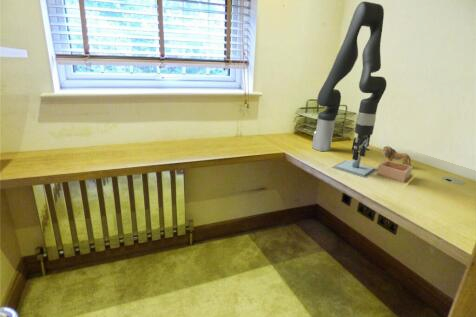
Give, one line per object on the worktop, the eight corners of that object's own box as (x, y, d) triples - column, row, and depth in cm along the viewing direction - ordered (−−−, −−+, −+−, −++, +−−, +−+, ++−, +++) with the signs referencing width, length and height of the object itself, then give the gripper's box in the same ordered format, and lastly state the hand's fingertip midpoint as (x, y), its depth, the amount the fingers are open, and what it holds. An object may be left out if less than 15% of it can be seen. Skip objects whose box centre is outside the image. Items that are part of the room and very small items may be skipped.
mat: (331, 168, 133) (331, 167, 133) (345, 161, 144) (345, 160, 144) (365, 179, 123) (366, 178, 123) (378, 170, 134) (378, 169, 134)
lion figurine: (379, 163, 144) (383, 146, 141) (379, 160, 148) (383, 144, 145) (412, 169, 138) (417, 152, 135) (411, 166, 143) (416, 149, 140)
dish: (376, 175, 128) (378, 165, 126) (384, 169, 136) (386, 159, 134) (403, 183, 121) (406, 172, 119) (409, 176, 129) (412, 166, 127)
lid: (335, 167, 133) (338, 155, 131) (347, 161, 142) (349, 150, 140) (364, 176, 125) (366, 163, 123) (374, 169, 134) (377, 157, 132)
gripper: (362, 120, 134) (356, 153, 139) (350, 123, 123) (344, 159, 129) (379, 122, 129) (372, 156, 134) (368, 126, 119) (360, 163, 124)
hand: (358, 157), depth 131 cm, fingers open, 8 cm apart
